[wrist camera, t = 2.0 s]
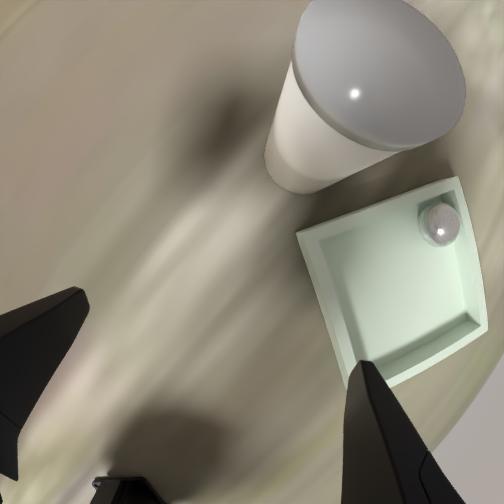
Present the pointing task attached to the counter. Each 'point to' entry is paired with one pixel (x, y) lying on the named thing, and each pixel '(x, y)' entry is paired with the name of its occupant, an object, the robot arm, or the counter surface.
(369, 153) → the cylinder
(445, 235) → the ball
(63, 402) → the counter surface
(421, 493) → the robot arm
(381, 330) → the tray
